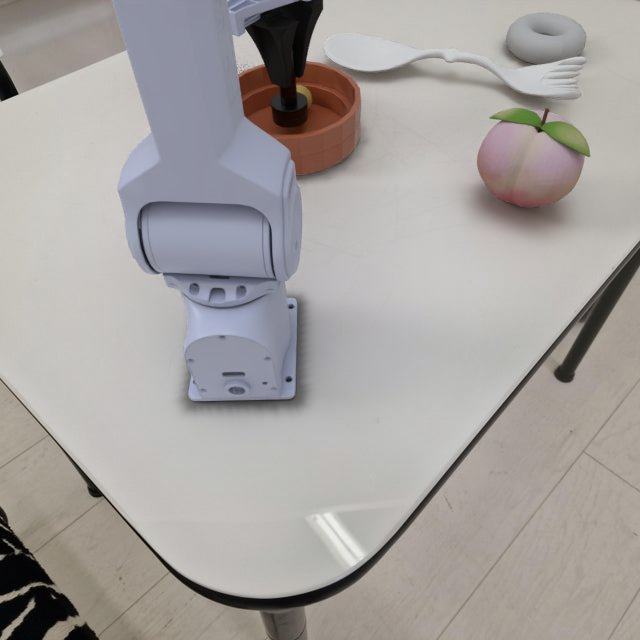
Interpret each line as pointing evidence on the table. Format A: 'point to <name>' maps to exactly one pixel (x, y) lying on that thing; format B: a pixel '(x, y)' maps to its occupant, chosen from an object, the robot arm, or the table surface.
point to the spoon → (390, 55)
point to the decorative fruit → (531, 157)
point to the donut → (545, 38)
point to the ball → (305, 93)
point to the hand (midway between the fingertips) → (287, 79)
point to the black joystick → (290, 103)
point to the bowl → (309, 114)
